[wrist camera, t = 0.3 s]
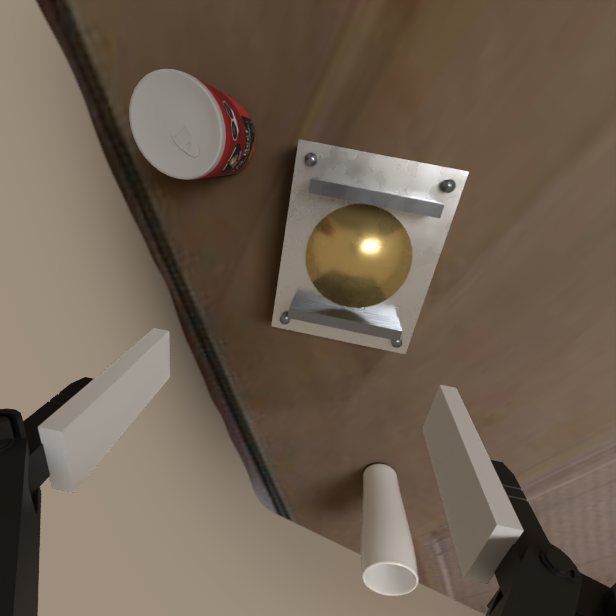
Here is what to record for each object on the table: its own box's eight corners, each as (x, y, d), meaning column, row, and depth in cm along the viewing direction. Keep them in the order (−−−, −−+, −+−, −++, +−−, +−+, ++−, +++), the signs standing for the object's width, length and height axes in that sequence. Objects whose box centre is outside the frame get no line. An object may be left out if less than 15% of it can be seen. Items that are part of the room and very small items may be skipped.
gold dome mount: (305, 142, 36) (293, 137, 28) (453, 170, 35) (480, 172, 28) (279, 309, 44) (265, 338, 37) (399, 334, 44) (409, 368, 36)
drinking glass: (369, 452, 52) (377, 555, 38) (409, 467, 52) (430, 575, 39) (351, 479, 55) (352, 584, 41) (388, 494, 55) (402, 603, 42)
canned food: (234, 189, 39) (193, 199, 29) (175, 142, 37) (111, 135, 27) (272, 130, 36) (242, 118, 26) (210, 77, 34) (153, 42, 24)
